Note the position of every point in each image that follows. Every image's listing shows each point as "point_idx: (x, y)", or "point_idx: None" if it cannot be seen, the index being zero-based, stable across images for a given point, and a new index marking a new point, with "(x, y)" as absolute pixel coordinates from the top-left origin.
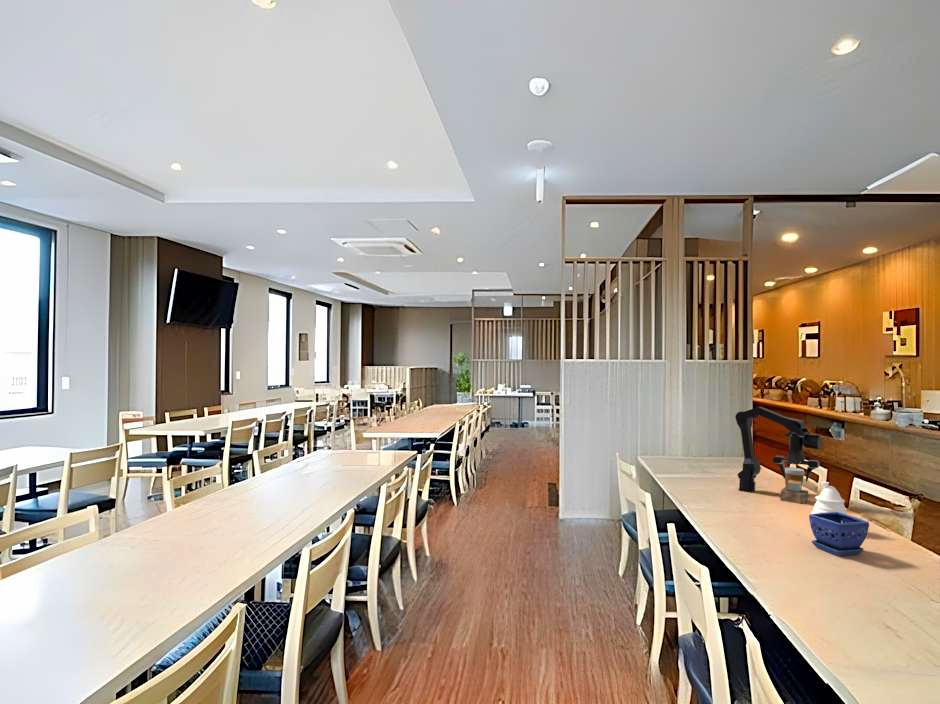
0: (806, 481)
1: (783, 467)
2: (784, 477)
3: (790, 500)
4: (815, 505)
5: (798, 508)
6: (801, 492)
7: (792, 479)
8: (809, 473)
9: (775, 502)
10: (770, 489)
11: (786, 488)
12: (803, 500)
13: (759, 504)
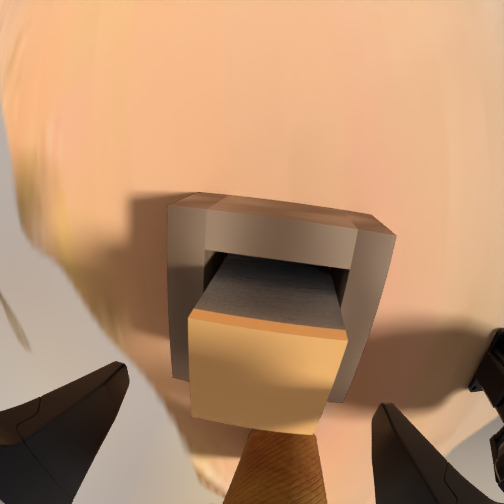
0: (118, 362)
1: None
2: (387, 410)
3: (299, 204)
4: None
5: (230, 24)
6: None
7: (283, 492)
8: (19, 407)
9: (399, 115)
10: None
11: None
12: (197, 197)
13: (460, 11)
